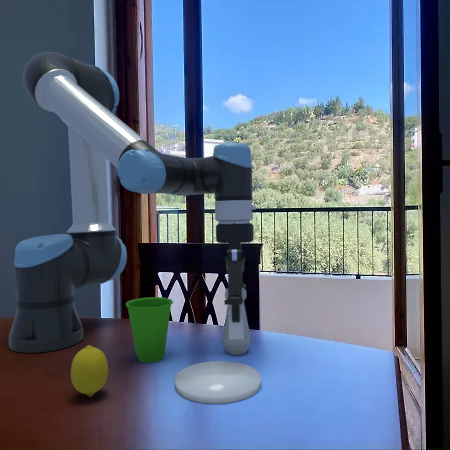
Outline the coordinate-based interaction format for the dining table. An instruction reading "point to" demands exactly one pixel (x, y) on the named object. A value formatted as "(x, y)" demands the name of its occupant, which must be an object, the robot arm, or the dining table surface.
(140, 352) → the cup
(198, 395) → the ceramic plate
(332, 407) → the dining table surface
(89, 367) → the lemon
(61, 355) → the dining table surface
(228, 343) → the salt shaker
